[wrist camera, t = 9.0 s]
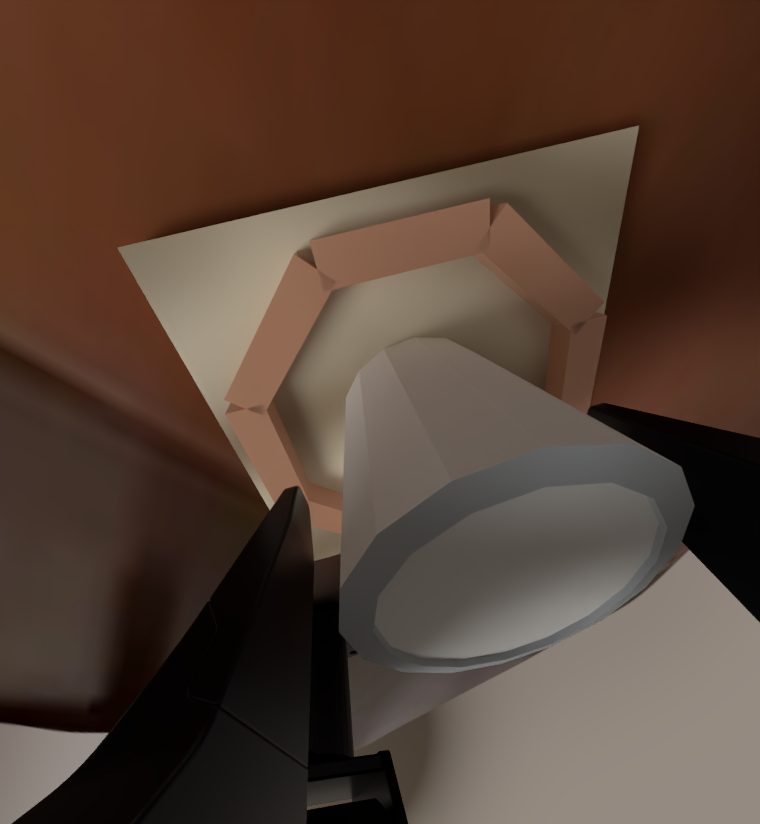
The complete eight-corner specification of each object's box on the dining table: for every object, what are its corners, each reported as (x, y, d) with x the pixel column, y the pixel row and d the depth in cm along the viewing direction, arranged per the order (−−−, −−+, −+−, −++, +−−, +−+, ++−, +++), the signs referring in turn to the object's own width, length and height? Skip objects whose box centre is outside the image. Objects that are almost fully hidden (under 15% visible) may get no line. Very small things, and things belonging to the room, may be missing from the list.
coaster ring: (558, 481, 15) (572, 496, 14) (312, 550, 15) (312, 570, 14) (605, 169, 9) (636, 162, 8) (167, 274, 8) (149, 279, 7)
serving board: (556, 472, 17) (571, 488, 16) (302, 543, 16) (301, 564, 15) (604, 136, 9) (639, 125, 8) (140, 245, 9) (116, 247, 8)
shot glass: (470, 274, 10) (718, 350, 4) (524, 427, 13) (695, 592, 7) (286, 387, 10) (243, 598, 4) (383, 501, 14) (431, 705, 8)
